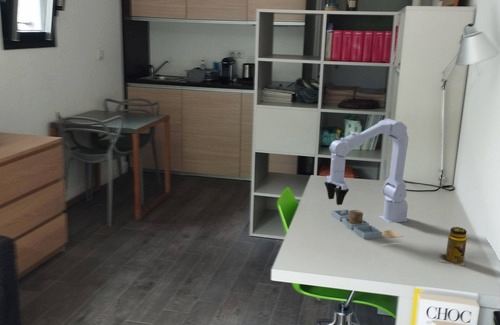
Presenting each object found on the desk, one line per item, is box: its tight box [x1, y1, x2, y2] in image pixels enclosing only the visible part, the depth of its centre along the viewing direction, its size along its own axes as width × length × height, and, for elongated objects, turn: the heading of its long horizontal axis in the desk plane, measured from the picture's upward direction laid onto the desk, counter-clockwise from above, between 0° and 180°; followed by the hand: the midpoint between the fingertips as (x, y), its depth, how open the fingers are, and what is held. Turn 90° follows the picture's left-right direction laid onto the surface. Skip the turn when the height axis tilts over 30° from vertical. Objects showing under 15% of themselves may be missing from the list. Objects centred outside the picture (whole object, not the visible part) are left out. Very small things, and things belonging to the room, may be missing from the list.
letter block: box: [349, 209, 364, 224], centre depth 212 cm, size 4×4×6 cm
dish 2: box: [341, 218, 370, 231], centre depth 213 cm, size 8×8×2 cm
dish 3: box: [353, 224, 383, 240], centre depth 204 cm, size 8×8×2 cm
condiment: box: [438, 226, 468, 267], centre depth 182 cm, size 7×8×12 cm
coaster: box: [380, 229, 404, 239], centre depth 205 cm, size 7×7×1 cm
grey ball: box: [341, 211, 348, 216], centre depth 222 cm, size 3×3×3 cm
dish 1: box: [330, 208, 351, 222], centre depth 222 cm, size 8×8×2 cm
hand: (335, 201), depth 212 cm, fingers open, 7 cm apart
